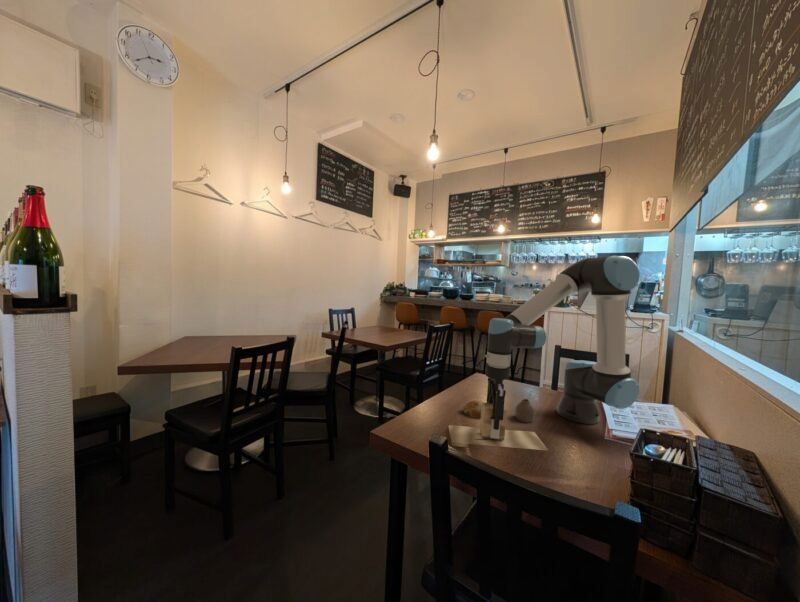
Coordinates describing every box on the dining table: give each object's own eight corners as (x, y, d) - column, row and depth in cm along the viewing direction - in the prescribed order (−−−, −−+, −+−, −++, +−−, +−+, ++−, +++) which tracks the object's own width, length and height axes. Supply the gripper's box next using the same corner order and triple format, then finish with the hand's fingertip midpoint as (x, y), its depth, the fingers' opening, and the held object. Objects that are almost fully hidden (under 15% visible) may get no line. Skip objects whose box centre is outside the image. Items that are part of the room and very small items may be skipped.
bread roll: (484, 432, 117) (495, 414, 116) (460, 417, 118) (470, 400, 117) (482, 420, 127) (492, 404, 125) (460, 407, 128) (470, 391, 127)
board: (534, 435, 109) (534, 432, 109) (548, 454, 97) (548, 450, 97) (448, 428, 110) (448, 425, 110) (452, 445, 98) (452, 442, 98)
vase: (511, 421, 119) (513, 399, 118) (518, 416, 124) (520, 395, 123) (529, 428, 114) (531, 404, 114) (536, 422, 119) (538, 400, 119)
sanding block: (500, 432, 106) (502, 404, 105) (504, 440, 101) (506, 410, 100) (479, 430, 106) (481, 402, 106) (482, 438, 101) (485, 408, 101)
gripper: (480, 357, 111) (476, 420, 113) (492, 372, 93) (487, 446, 95) (501, 359, 111) (496, 422, 112) (518, 374, 93) (511, 448, 94)
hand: (492, 433), depth 103 cm, fingers closed on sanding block, 5 cm apart
